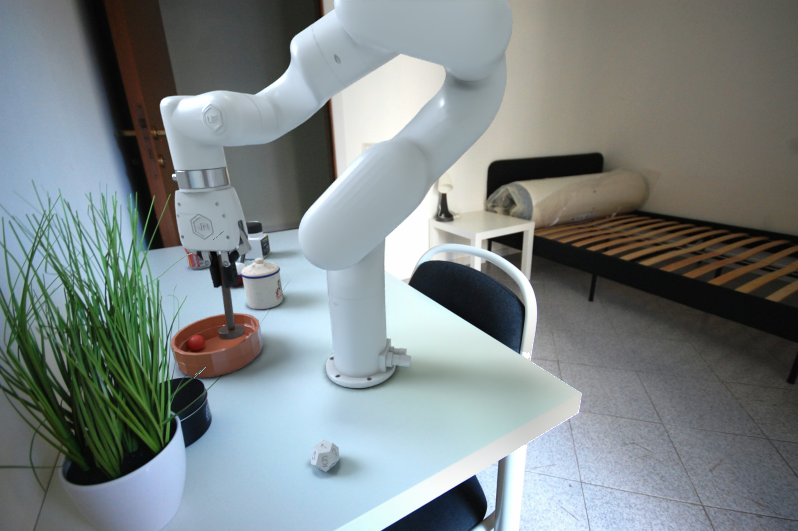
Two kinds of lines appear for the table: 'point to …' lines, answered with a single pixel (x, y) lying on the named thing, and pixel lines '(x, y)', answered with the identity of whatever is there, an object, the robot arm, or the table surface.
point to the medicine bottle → (257, 241)
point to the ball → (196, 342)
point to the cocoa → (239, 269)
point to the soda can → (194, 261)
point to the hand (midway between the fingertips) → (226, 284)
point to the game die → (324, 455)
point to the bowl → (217, 346)
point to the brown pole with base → (228, 312)
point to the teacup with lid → (262, 284)
